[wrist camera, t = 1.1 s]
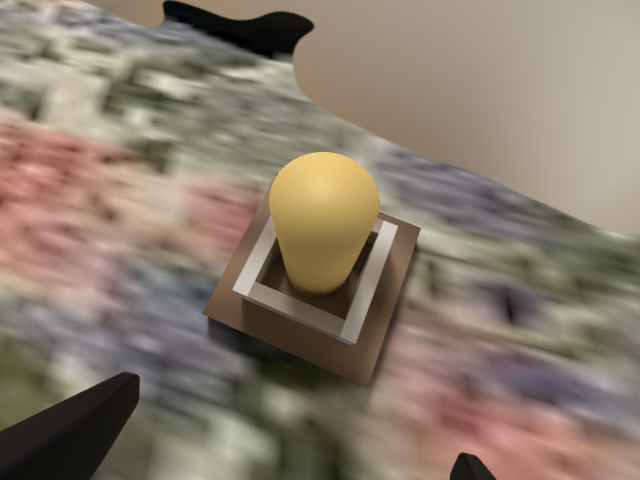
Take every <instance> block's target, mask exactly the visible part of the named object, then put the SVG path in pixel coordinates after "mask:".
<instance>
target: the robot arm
mask: <svg viewBox="0 0 640 480" xmlns="http://www.w3.org/2000/svg"><path fill="white" fill-rule="evenodd" d="M139 389H140V378H139V376H138V375H137V374H134V373H130V372H122V373H120V374H118V375H115V376H113V377H111V378H109V379H107V380H105V381H103V382H101V383H99V384H97V385H95V386H93V387H91V388H89V389H87V390H85V391H82V392H80V393H78V394H76V395H74V396H72V397H70V398H68V399H66V400H64V401H62V402H60V403H58V404H56V405H54V406H52V407H49V408H47V409H45V410H43V411H41V412H39V413H37V414H35V415H33V416H31V417H29V418H27V419H25V420H23V421H21V422H19V423H16V424H14V425H12V426H10V427H8V428H6V429H4V430H2V431H0V480H90V478H91V477H92V476H93V474H94V473H95V471H96V470H97V469H98V467H99V466H100V464H101V463H102V461H103V460H104V458H105V457H106V455H107V453H108V452H109V450H110V449H111V447H112V445H113V444H114V442H115V440H116V439H117V437H118V435H119V434H120V432H121V431H122V429H123V427H124V426H125V424H126V422H127V421H128V419H129V417H130V416H131V414H132V412H133V411H134V409H135V408H136V406H137V404H138V401H139ZM450 480H496V478H495V477H494V476H493V475H492V474H491V472H490V471H489V470H488V469H487V467H486V466H485V465H484V464H483V463H482V461H481V460H480V459H479V458H478V457H477V456H475V455H472V454H467V453H460V454H459V455H458V457H457V460H456V462H455V464H454V466H453V469H452V471H451V474H450Z"/></svg>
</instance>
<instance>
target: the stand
mask: <svg viewBox="0 0 640 480" xmlns="http://www.w3.org/2000/svg"><path fill="white" fill-rule="evenodd" d="M277 175H278V173H277V174H276V176H277ZM276 176H275V178H276ZM275 178H274V180H275ZM274 180H273V182H274ZM273 182H272V183H271V185H270V187H269V189H268V191H267V193H266V195H265V197H264V198H263V200H262V202H261V204H260V206H259V208H258V210H257V211H256V213H255V215H254V217H253V219H252V221H251V223H250V225H249V226H248V228H247V230H246V232H245V234H244V236H243V238H242V239H241V241H240V243H239V245H238V247H237V249H236V251H235V253H234V254H233V256H232V258H231V260H230V262H229V264H228V266H227V267H226V269H225V271H224V273H223V275H222V277H221V279H220V281H219V282H218V284H217V286H216V288H215V290H214V292H213V294H212V295H211V297H210V299H209V301H208V303H207V305H206V307H205V309H204V310H203V312H202V314H203V315H206V316H208V317H210V318H212V319H215V320H217V321H219V322H221V323H224V324H226V325H228V326H230V327H233V328H235V329H237V330H239V331H241V332H244V333H246V334H248V335H250V336H253V337H255V338H257V339H259V340H262V341H264V342H266V343H268V344H270V345H273V346H275V347H277V348H279V349H282V350H284V351H286V352H288V353H291V354H293V355H295V356H297V357H300V358H302V359H304V360H306V361H308V362H311V363H313V364H315V365H317V366H320V367H322V368H324V369H326V370H329V371H331V372H333V373H335V374H338V375H340V376H342V377H344V378H346V379H349V380H351V381H353V382H355V383H358V384H360V385H362V386H364V387H367V388H368V385H369V382H370V379H371V376H372V373H373V370H374V367H375V364H376V361H377V358H378V355H379V352H380V349H381V346H382V343H383V340H384V337H385V334H386V331H387V328H388V325H389V322H390V319H391V316H392V313H393V310H394V307H395V304H396V301H397V298H398V295H399V292H400V289H401V286H402V283H403V280H404V277H405V274H406V271H407V268H408V265H409V262H410V259H411V256H412V253H413V250H414V247H415V244H416V241H417V238H418V235H419V232H420V229H421V228H419V227H417V226H414V225H412V224H409V223H406V222H404V221H401V220H399V219H396V218H393V217H391V216H388V215H386V214H383V213H381V212H379V213H378V216H377V220H376V222H375V224H374V226H373V228H372V230H371V232H370V234H369V236H368V238H367V240H366V242H365V244H364V246H363V248H362V250H361V252H360V254H359V256H358V258H357V260H356V262H355V264H354V266H353V268H352V270H351V272H350V274H349V276H348V278H347V279H346V281H345V283H344V285H343V287H342V288H341V289H340V290H339V291H338V292H337V293H335V294H334V295H332V296H330V297H328V298H324V299H311V298H308V297H305V296H303V295H301V294H300V293H298V292H297V291H296V290H295V289H294V288H293V286H292V285H291V283H290V281H289V279H288V275H287V272H286V268H285V264H284V261H283V257H282V253H281V249H280V246H279V242H278V238H277V235H276V231H275V227H274V223H273V220H272V216H271V212H270V207H269V196H270V190H271V187H272V184H273Z"/></svg>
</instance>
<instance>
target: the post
mask: <svg viewBox="0 0 640 480" xmlns="http://www.w3.org/2000/svg"><path fill="white" fill-rule="evenodd" d="M269 207H270V212H271V216H272V220H273V223H274V227H275V231H276V235H277V238H278V242H279V246H280V249H281V253H282V257H283V261H284V264H285V268H286V272H287V275H288V279H289V281H290V283H291V285H292V286H293V288H294V289H295V290H296V291H297V292H298V293H300V294H301V295H303V296H305V297H308V298H311V299H324V298H328V297H330V296H332V295H334V294H335V293H337V292H338V291H339V290H340V289H341V288H342V287H343V285H344V283H345V281H346V279H347V278H348V276H349V274H350V272H351V270H352V268H353V266H354V264H355V262H356V260H357V258H358V256H359V254H360V252H361V250H362V248H363V246H364V244H365V242H366V240H367V238H368V236H369V234H370V232H371V230H372V228H373V226H374V224H375V222H376V220H377V216H378V213H379V207H380V200H379V193H378V190H377V187H376V184H375V182H374V180H373V179H372V177H371V176H370V174H369V173H368V172H367V171H366V170H365V169H364V168H363V167H362V166H361V165H360V164H358V163H357V162H355V161H354V160H352V159H350V158H348V157H346V156H343V155H340V154H335V153H329V152H317V153H311V154H307V155H304V156H301V157H299V158H297V159H295V160H293V161H291V162H290V163H289V164H287V165H286V166H285V167H284V168H283V169H282V170H281V171H280V172H279V173H278V175H277V176H276V178H275V180H274V182H273V184H272V187H271V190H270V196H269Z"/></svg>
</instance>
